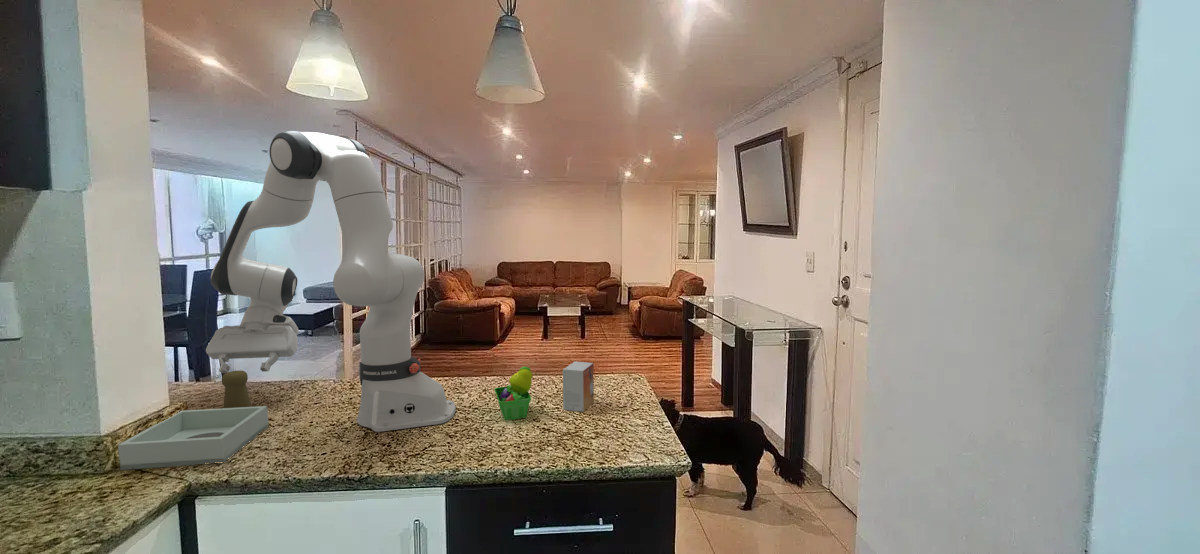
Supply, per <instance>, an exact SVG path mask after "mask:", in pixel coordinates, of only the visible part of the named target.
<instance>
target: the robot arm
mask: <svg viewBox="0 0 1200 554" xmlns="http://www.w3.org/2000/svg"><path fill="white" fill-rule="evenodd" d="M269 158H270V162H269V165H268V167H267V170H266V173H265V177H264V181H263V184H262V190H261V192H260V194H259V196H258V197H257V198H255V200H249V201H247V202H246V203H245V204H244V205H243V206H242V208H241V210H240V211H239V213H238V215H237V216H236V218H235V221H234V222H233V223H234V224H233V226H232V228H231V230H230V233H229V235H228V238H227V240H226V242H225V244H224V248H223V250H222V252H221V255H220V257H219V259H218V260H217V262H215V265H214V266H213V268H212V271H211V274H210V284H211V286H213V288H214V289H215V290H216V291H217V292H218V293H220V295H226V296H239V297H246V298H250V300H249V302H250V303H249V306H248V307H247V308H246V310H245V311H244V314H243V317H242V319H241V322H240V325H239V324H237V325H224V326H222V327H220V328H218V329H216V330H215V332H214V334H213V336H212V337H211V339H210V341H209V343H208V344H207V346H206V347H205V352H206V354H207V355H208V357H209V358H211V359H212V360H218V361H219V365H220V366H219V369H218V372H219V373H220V374H225V373H227V372H230V371H231V366H230V365H229V364H228V362H229V361H230V360H235V359H237V360H238V359H258V358H259V359H261V358H265V359H266V358H268V359H267V360H266V361H265V362H262V363H261V365H260V368H259V369H260V371H261V372H263V373H265V372H270V370H271V367H272V366H273V365H274V364H276V363H277V362H278V360H279V358H283V357H284V358H285V357H287V358H288V357H290V358H291V357H292V356H293V355H295V354H296V351H297V349H298V345H299V337H298V334H299V332H300V331H299V330H300V329H299V327H298V326H297V324H296V323H295V321H294V319H293V318H291V317H290V316H287V315H284V312H285V311H286V309H287V307H288V305H289V304H291V303H292V302H293V299H294V295H295V293H296V290H297V286H298V277H297V276H296V274H295V272H294V271H293V270H292V269H291V268H290V267H286V266H284V265H280V264H274V263H267V262H263V261H257V260H252V259H248V258H245V256H243V253H244V251H245V249H246V246H247V245H248V242H249V239H250V237H251V234H252V233H254V232H255V231H257V230H258V231H259V230H262V229H269V228H284V227H289V226H294V225H297V224H298V223H301V222H302V221H304V220H306V218H307V217H309V214H310V212H311V209H312V206H313V203H314V198H315V194H316V188H317V184H318V182H319V181H321V182H326V183H327V184H328V186H329V188H330V192H331V196H332V200H333V203H334V206H335V207H334V208H335V211H336V213H337V214H336V216H337V219H338V223H339V227H340V230H341V231H340V232H341V235H342V254H341V255H342V256H341V262H340V263H339V266H338V268H337V269H336V271H335V273H334V275H333V280H332V281H333V282H332V284H333V290H334V293H335V295H336V296H337V298H338V299H339V300H340V301H341V302H343V303H344V304H346V305H349V306H355V307H369V310H368V313H367V316H366V317H365V320H364V321H363V323H362V325H361V326H360V329H359V346H360V348H359V349H360V361H359V363H358V364H359V366H358V375H359V377H358V378H359V383H360V386H361V393H360V403H359V408H358V409H359V411H358V413H357V418H356V423H357V424H358V425H360V426H361V427H366V428H369V429H371V430H372V431H374V432H377V433H381V432H387V431H395V430H403V429H410V428H411V429H412V428H419V427H425V426H426V427H427V426H433V425H435V426H436V425H440V424H445V423H447V422H448V421H449V420H450V421H451V419H452V418H453V417H454V415H455V414H456V410H457V409H456V403H455V402H454V401H452V400H450V399H447V397H446V396H447V395H446V393H445V390H444V387H443V385H442V384H441V383H440V382H438V381H436V380H435V379H433V378H432V377H430V376H428V375H426V374H425V373H423V372H422V371H421V358H420V357H419V358H418V359H417V357H416V358H415V357H414V356H413V355H412V348H411V347H412V346H411V343H412V342H411V323H412V317H413V312H414V308H415V307H414V306H415V302H416V298H417V295H418V292H419V291H420V289H421V287H422V285H423V284H424V281H425V270H424V267H423V265H422V264H421V262H420V261H419V260H417V259H416V258H415V257H413V256H409V255H406V254H400V253H393V254H389V237H390V234H391V232H392V230H393V228H394V222H393V219H392V216H391V212H390V207H389V204H388V201H387V197H386V194H385V190H384V187H383V184H382V182H381V179H380V176H379V174H378V171H377V169H376V167H375V165H374V163H373V161H372V159H371V158H370V156H368V153H367V150H366V149H365V147H364V145H363V144H362V143H360V142H358V141H357V140H355V139H353V138H350V137H347V136H337V135H331V134H326V133H323V132H313V131H297V130H288V131H282V132H279V133H277V134H276V135H275V136H274V137H273V138H272V140H271V143H270V146H269Z"/></svg>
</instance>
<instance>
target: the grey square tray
mask: <svg viewBox="0 0 1200 554" xmlns="http://www.w3.org/2000/svg"><path fill="white" fill-rule="evenodd" d="M179 411H180V412H179ZM179 411H177V412H178V413H177V412H176V413H177V414H175V413H174V414H175V415H173V414H172V415H173V416H172V417H170V416H168V417H169V418H168V417H167V418H168V419H166V418H165V419H166V420H164V419H163V420H164V421H162V420H161V421H162V422H160V421H159V422H160V423H159V422H157V423H158V424H157V423H155V424H153V425H151V426H150V427H147V428H145V429H144V430H142V431H140V432H139V433H137V434H135V435H133V436H132V437H129V438H128V439H127V440H124V441H123V442H121V443H120V442H119V444H117V449H118V457H119V459H118V460H119V468H120V471H125V470H139V469H141V470H142V469H143V470H144V469H157V468H168V467H169V468H170V467H171V466H173V467H185V465H188V466H196V465H195V464H203V465H206V464H205V463H215V462H225V461H226V460H227V459H228V458H230V457H231V456H232V455H233V454H235V453H236V452H237V451H238V450H240V449H241V448H242V447H243V446H245V445H246V444H247V443H248V442H249V441H251V440H252V439H253V438H255V437H256V436H257V435H258V434H259V433H261V432H262V431H263V430H265V429H266V428H267V427H268V426H269V427H270V425H269V423H270V422H269V411H268V405H261V406H251V407H240V408H224V407H223V408H209V409H208V408H205V409H187V410H179ZM269 427H268V428H269ZM268 428H267V429H268ZM267 429H266V430H267ZM266 430H265V431H266ZM263 432H264V431H263ZM263 432H262V433H263ZM262 433H261V434H262ZM258 436H259V435H258ZM258 436H257V437H258ZM257 437H256V438H257ZM256 438H255V439H256ZM253 440H254V439H253ZM253 440H252V441H253ZM252 441H251V442H252ZM248 444H249V443H248ZM248 444H247V445H248ZM247 445H246V446H247ZM246 446H245V447H246ZM243 448H244V447H243ZM243 448H242V449H243ZM242 449H241V450H242ZM241 450H240V451H241ZM237 453H238V452H237ZM237 453H236V454H237ZM236 454H235V455H236ZM232 457H233V456H232ZM232 457H231V458H232ZM231 458H230V459H231ZM227 461H228V460H227ZM227 461H226V462H227ZM226 462H225V463H226ZM183 465H184V466H183Z"/></svg>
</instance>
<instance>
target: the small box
mask: <svg viewBox="0 0 1200 554" xmlns="http://www.w3.org/2000/svg"><path fill="white" fill-rule="evenodd" d="M594 371H595V370H594V363H593V362H586V361H573V362H572V363H571V364H569V365H567V366H566V367H564V368H563V369H562V405H563V406H562V407H563V409H562V410H564V411H572V412H573V411H574V412H581V413H582V412H585V411H586V410H587V409H588V408H589V407H590V406H591V405H592V404H593V403H594V402H595V400H594V398H595V396H594V387H595V385H594V382H595V381H594V380H595V379H594V378H595V377H594V375H595V374H594V373H595V372H594Z"/></svg>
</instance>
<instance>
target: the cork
mask: <svg viewBox="0 0 1200 554" xmlns="http://www.w3.org/2000/svg"><path fill="white" fill-rule="evenodd" d="M248 377H249V376H248V373H247V372H246V371H245V370H232V371H231V370H230V371H229V372H227V373H223V374H222V377H221V384H222V385H223V386H224V396H223V408H240V407H252V405H251V401H250V396H249V391H248V389H247V385H246V383H248V379H249V378H248Z"/></svg>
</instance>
